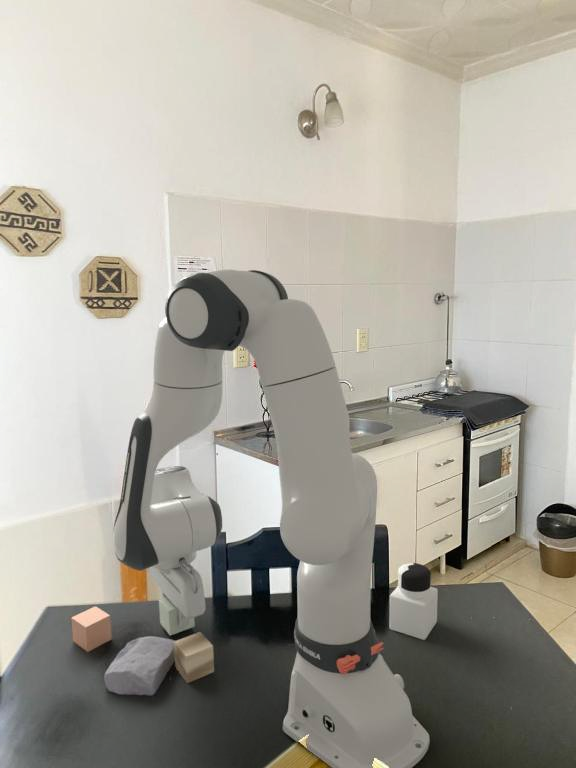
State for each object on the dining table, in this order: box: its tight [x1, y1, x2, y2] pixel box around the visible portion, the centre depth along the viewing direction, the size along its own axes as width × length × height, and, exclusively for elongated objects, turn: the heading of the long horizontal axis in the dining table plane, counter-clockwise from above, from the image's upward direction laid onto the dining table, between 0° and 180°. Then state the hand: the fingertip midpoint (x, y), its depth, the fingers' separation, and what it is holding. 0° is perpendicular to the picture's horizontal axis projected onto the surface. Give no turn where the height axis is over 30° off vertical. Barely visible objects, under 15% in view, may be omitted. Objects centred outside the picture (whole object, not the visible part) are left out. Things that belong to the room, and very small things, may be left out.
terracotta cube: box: [70, 606, 113, 653], centre depth 108 cm, size 5×5×5 cm
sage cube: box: [158, 597, 196, 636], centre depth 111 cm, size 5×5×5 cm
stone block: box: [104, 635, 175, 697], centre depth 99 cm, size 12×5×10 cm
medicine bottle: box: [389, 562, 439, 641], centre depth 110 cm, size 7×7×12 cm
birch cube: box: [174, 631, 215, 684], centre depth 99 cm, size 5×5×5 cm
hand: (176, 617), depth 111 cm, fingers closed on sage cube, 5 cm apart
